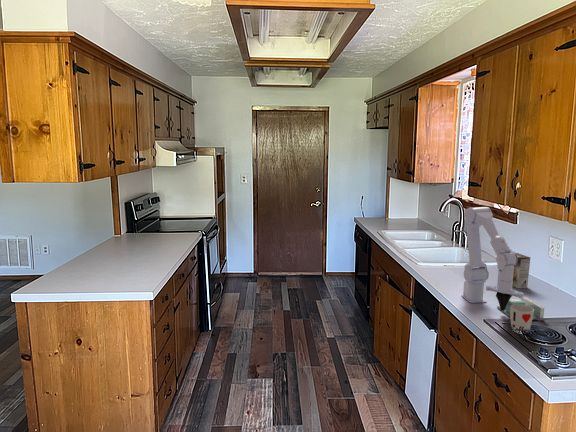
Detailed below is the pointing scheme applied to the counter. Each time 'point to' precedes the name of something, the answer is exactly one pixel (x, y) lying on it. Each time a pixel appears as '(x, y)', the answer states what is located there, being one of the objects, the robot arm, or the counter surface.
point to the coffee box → (521, 272)
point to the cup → (521, 317)
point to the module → (513, 301)
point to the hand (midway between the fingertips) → (502, 309)
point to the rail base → (537, 308)
